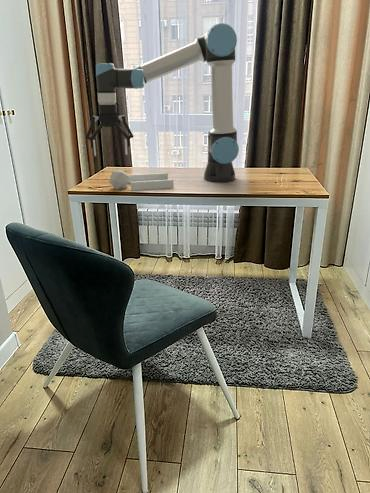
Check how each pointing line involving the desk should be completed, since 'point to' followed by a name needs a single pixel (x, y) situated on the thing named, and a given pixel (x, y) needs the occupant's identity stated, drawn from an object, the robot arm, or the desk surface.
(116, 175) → the die
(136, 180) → the grey u-shaped frame
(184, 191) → the desk surface
